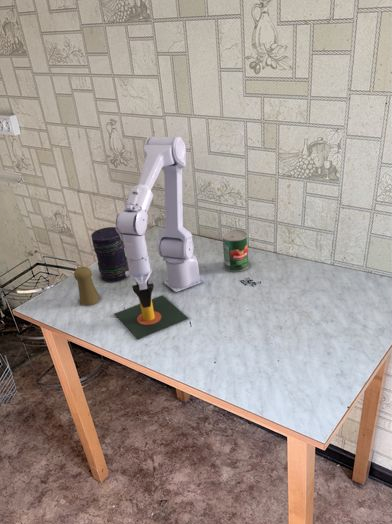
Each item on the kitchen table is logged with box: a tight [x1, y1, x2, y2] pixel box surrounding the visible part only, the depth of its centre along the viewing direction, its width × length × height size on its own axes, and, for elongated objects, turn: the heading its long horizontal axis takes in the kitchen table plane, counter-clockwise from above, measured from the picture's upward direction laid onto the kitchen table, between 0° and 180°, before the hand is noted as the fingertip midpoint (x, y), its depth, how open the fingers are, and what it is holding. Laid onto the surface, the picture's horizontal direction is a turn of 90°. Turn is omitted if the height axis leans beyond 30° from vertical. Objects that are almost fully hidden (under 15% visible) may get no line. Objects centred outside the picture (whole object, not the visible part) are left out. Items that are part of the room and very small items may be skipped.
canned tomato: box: [221, 229, 250, 273], centre depth 163 cm, size 8×8×11 cm
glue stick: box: [138, 298, 155, 321], centre depth 143 cm, size 4×4×8 cm
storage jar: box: [90, 226, 129, 283], centre depth 166 cm, size 10×10×15 cm
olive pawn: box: [73, 266, 100, 306], centre depth 155 cm, size 6×6×11 cm
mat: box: [114, 294, 189, 340], centre depth 147 cm, size 16×16×1 cm
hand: (145, 299), depth 142 cm, fingers open, 7 cm apart
